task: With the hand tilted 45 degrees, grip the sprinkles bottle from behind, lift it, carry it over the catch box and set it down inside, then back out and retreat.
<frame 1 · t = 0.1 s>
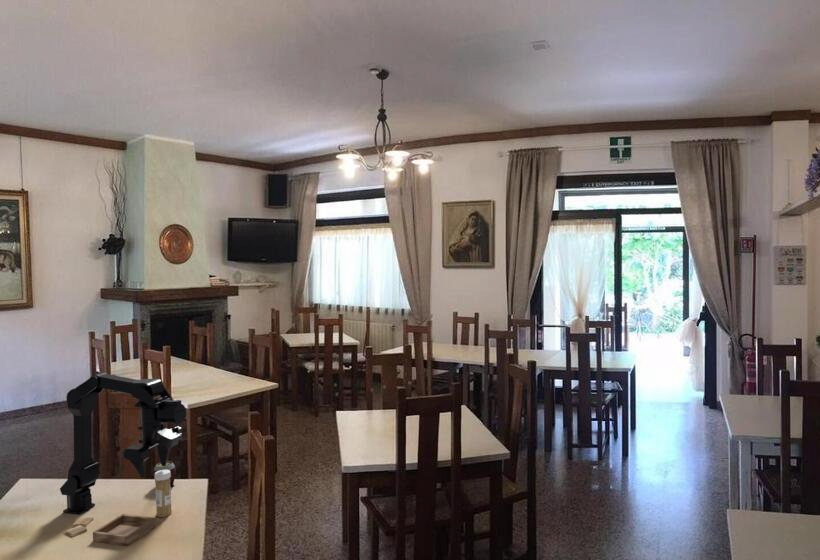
hand: (153, 471, 171), 15 cm above the table, tool pointing down, fingers open, 9 cm apart
oak tile B: (76, 533, 164), on the table
catch box: (125, 533, 163), on the table
sprinkles bottle: (164, 514, 175), on the table
mate gourd: (166, 487, 195), on the table
oak tile A: (83, 524, 169), on the table
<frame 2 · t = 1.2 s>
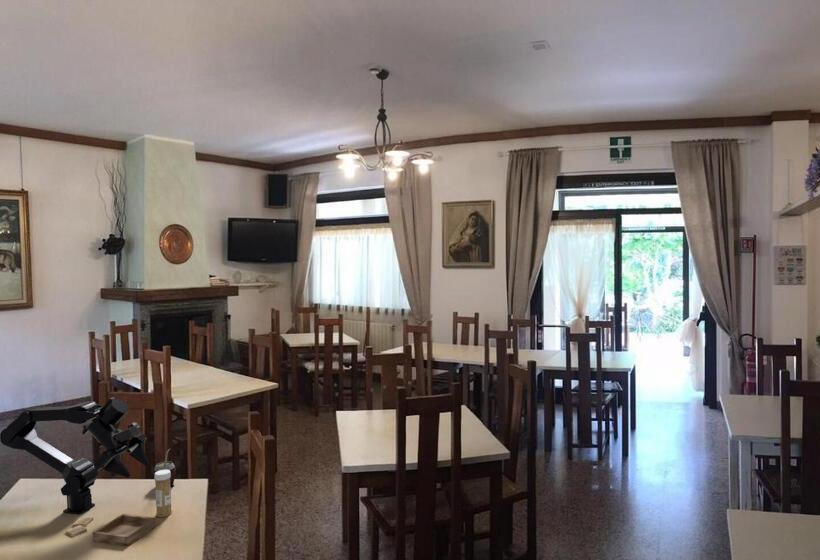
hand: (138, 470, 175), 13 cm above the table, tool tilted 45°, fingers open, 9 cm apart
nothing on the table moved.
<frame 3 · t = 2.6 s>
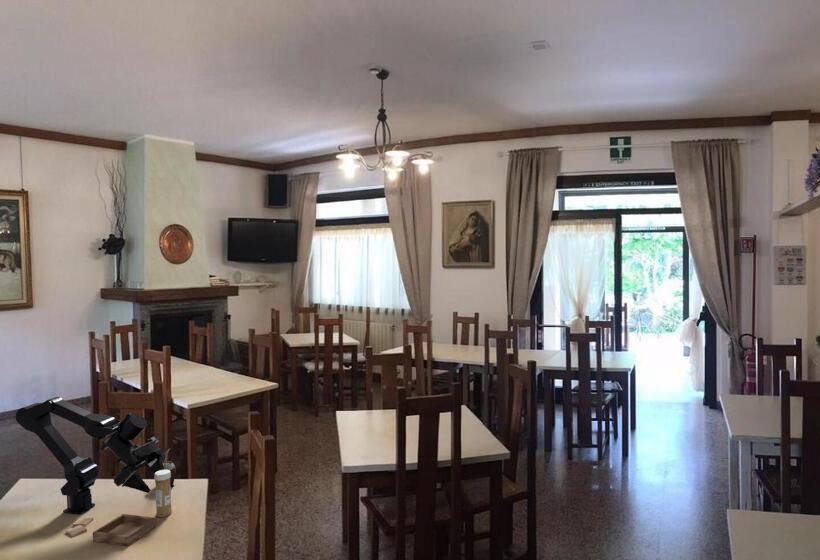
hand: (158, 485, 175), 9 cm above the table, tool tilted 45°, fingers open, 9 cm apart
nothing on the table moved.
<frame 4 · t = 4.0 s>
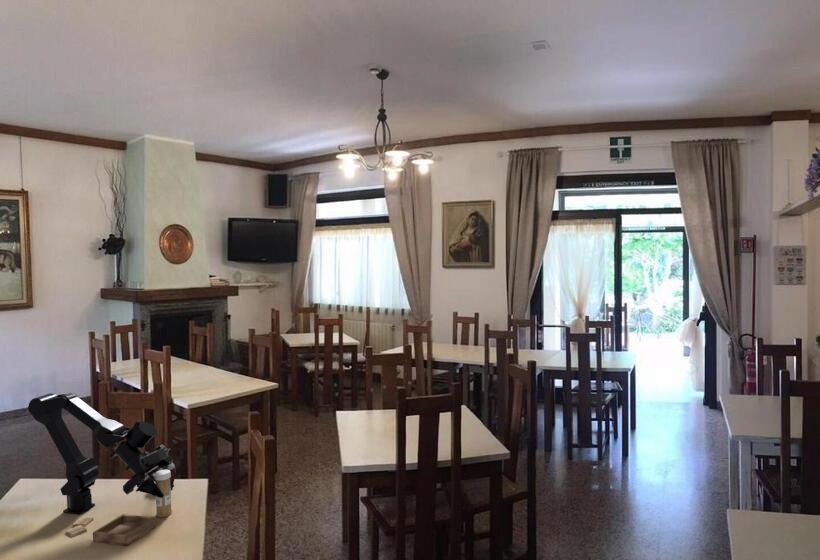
hand: (167, 493, 174), 7 cm above the table, tool tilted 45°, fingers closed on sprinkles bottle, 4 cm apart
sprinkles bottle: (164, 514, 175), on the table, touching gripper
everything else where it was.
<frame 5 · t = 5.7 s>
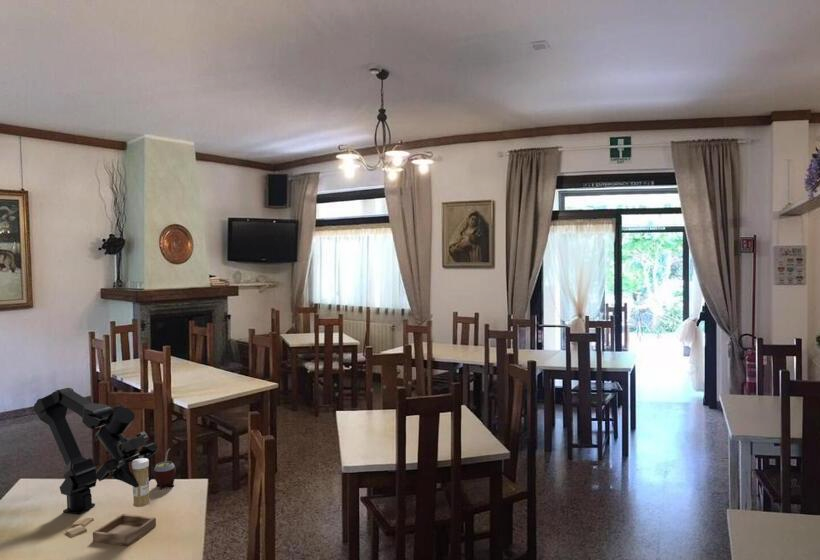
hand: (144, 483, 166), 13 cm above the table, tool tilted 45°, fingers closed on sprinkles bottle, 4 cm apart
sprinkles bottle: (141, 504, 167), point 6 cm above the table, touching gripper
everything else where it was.
when the fingers open (8 cm above the table, at t = 7.2 s): sprinkles bottle drops 1 cm, resting on catch box.
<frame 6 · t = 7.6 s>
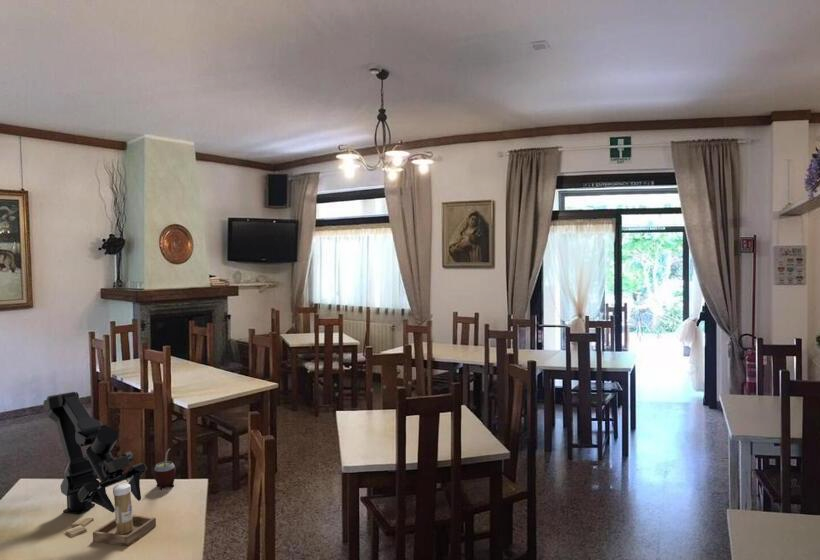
hand: (127, 505, 162), 9 cm above the table, tool tilted 45°, fingers open, 8 cm apart
sprinkles bottle: (125, 531, 163), resting on catch box
everything else where it was.
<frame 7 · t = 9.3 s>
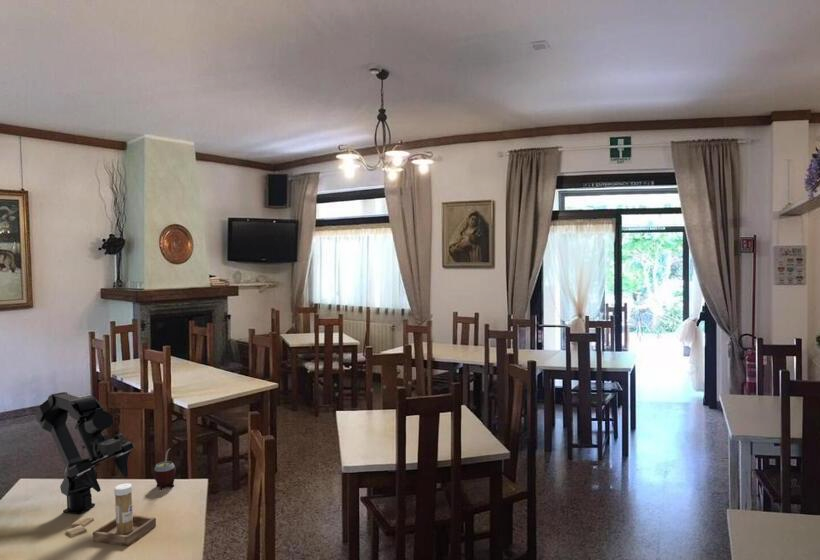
hand: (113, 484, 170), 11 cm above the table, tool tilted 25°, fingers open, 9 cm apart
nothing on the table moved.
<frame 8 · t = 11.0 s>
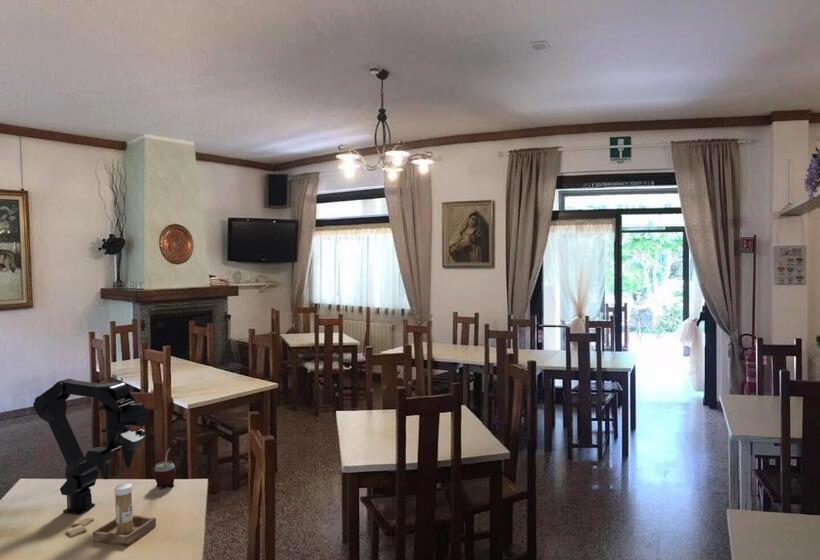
hand: (117, 473, 175), 13 cm above the table, tool pointing down, fingers open, 9 cm apart
nothing on the table moved.
at the end: sprinkles bottle inside the target area on the catch box (0.2 cm from its centre), point 0.4 cm above the catch box's base; sprinkles bottle tilted 0°; the gripper is holding nothing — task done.
